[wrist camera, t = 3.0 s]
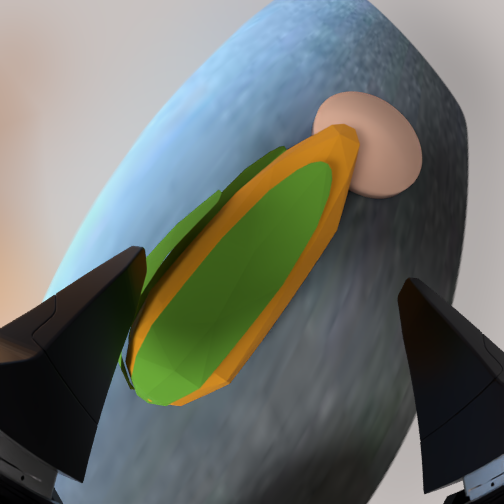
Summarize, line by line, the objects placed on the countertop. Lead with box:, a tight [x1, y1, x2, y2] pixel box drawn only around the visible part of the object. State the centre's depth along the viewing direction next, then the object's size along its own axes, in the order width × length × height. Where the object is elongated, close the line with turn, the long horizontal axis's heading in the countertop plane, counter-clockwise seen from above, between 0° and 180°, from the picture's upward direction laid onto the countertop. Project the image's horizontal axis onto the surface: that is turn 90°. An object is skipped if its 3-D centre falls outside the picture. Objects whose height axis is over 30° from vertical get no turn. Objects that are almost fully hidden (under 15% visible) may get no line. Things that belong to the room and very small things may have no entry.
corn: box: [118, 124, 360, 406], centre depth 15 cm, size 7×8×20 cm
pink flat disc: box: [311, 92, 422, 199], centre depth 20 cm, size 9×9×1 cm
